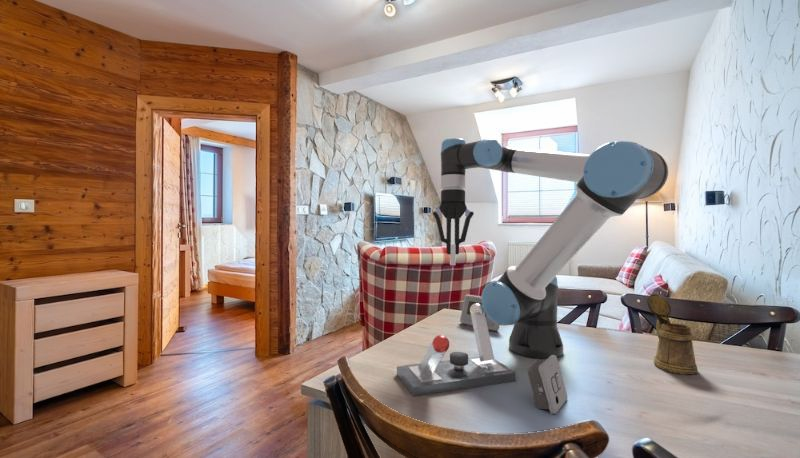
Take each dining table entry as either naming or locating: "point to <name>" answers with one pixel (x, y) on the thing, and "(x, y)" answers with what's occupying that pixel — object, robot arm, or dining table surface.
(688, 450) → the dining table surface
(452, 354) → the black button
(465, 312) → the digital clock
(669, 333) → the wooden mug
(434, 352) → the red knob lever
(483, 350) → the ivory knob lever
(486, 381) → the console
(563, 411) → the dining table surface
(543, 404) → the electrical switch
